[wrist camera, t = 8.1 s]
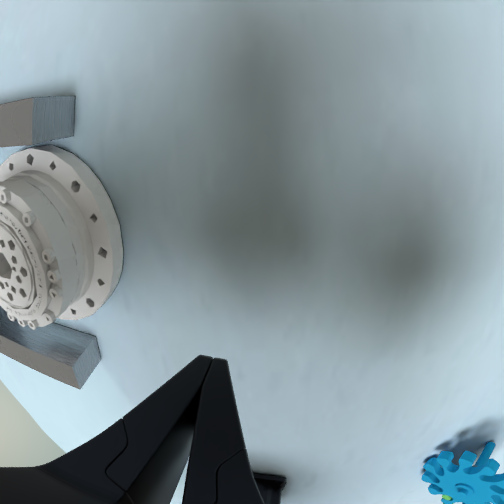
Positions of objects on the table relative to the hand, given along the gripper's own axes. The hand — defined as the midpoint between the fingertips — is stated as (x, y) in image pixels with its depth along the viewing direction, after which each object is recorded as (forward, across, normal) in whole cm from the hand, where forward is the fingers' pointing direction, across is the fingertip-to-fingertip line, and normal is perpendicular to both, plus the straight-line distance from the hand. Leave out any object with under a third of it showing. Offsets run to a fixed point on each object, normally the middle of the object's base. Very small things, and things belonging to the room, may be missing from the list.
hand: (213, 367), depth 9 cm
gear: (+6, -21, +16) cm, 27 cm away
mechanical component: (+7, +11, 0) cm, 13 cm away
